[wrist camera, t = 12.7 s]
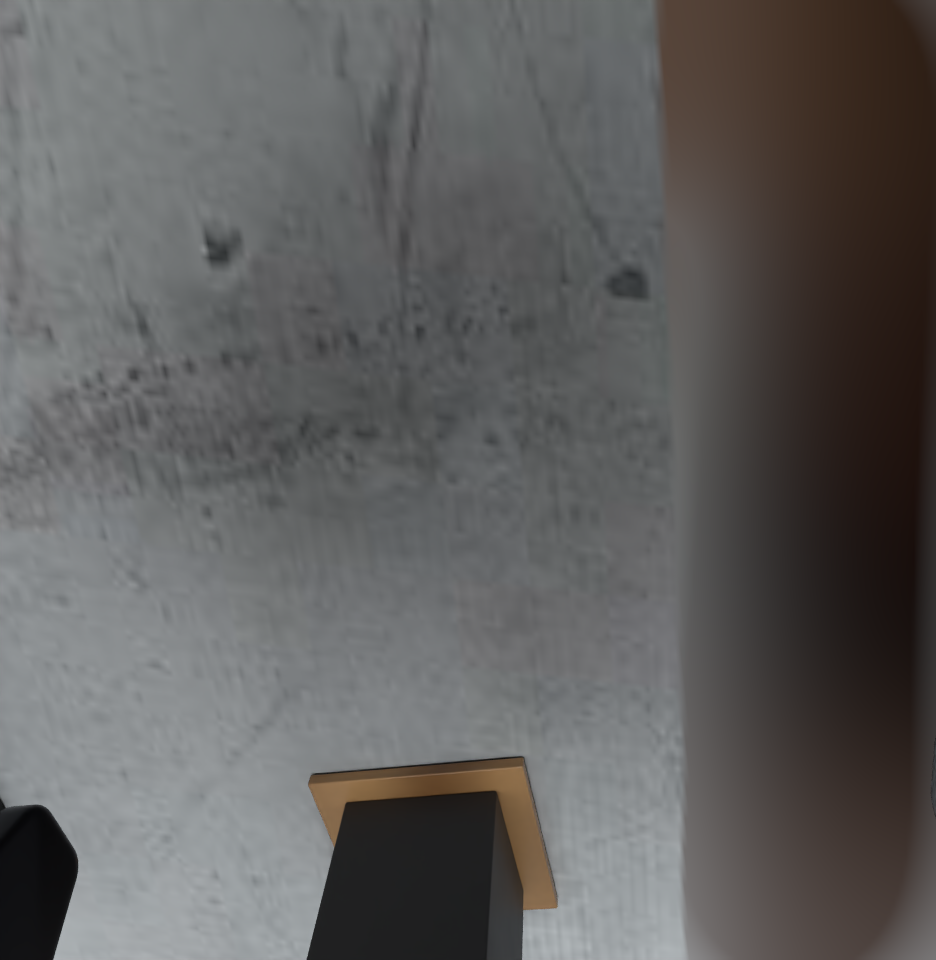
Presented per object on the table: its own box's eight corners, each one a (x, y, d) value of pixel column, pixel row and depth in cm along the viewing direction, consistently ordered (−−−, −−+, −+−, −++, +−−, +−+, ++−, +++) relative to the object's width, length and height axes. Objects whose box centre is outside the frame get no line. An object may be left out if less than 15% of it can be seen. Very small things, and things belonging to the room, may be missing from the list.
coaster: (523, 756, 26) (523, 766, 26) (557, 898, 30) (557, 908, 29) (310, 774, 28) (307, 784, 27) (366, 908, 31) (364, 918, 30)
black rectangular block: (496, 789, 27) (482, 1024, 21) (523, 890, 29) (518, 1126, 23) (344, 801, 27) (287, 1029, 21) (383, 898, 30) (341, 1129, 24)
